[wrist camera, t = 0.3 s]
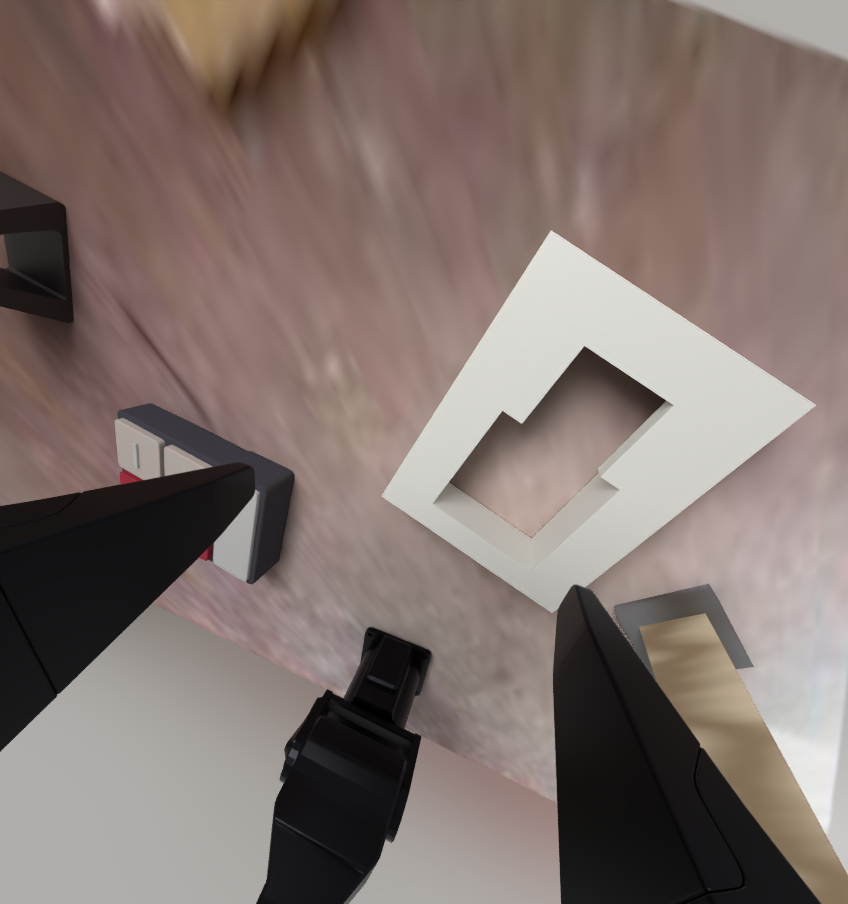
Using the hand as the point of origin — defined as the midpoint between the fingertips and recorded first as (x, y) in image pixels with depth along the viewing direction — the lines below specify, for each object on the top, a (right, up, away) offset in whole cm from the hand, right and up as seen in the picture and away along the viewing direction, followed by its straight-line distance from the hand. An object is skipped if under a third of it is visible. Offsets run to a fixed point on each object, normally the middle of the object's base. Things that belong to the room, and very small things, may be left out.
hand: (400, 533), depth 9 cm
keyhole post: (+18, -10, +15) cm, 26 cm away
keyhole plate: (+9, +3, +13) cm, 16 cm away
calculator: (-18, -1, +24) cm, 30 cm away
